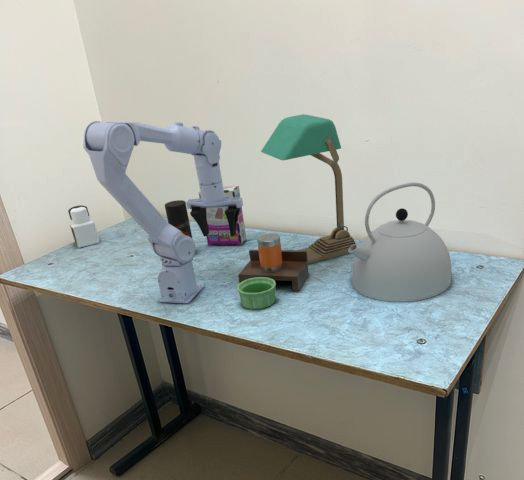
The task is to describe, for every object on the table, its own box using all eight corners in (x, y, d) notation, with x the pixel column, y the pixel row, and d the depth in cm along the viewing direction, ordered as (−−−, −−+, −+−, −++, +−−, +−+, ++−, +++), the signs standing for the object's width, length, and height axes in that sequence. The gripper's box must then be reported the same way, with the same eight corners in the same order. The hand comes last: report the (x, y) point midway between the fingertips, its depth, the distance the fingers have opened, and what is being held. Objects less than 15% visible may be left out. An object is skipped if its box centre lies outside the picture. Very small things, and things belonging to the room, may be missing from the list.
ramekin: (240, 313, 123) (237, 295, 121) (239, 296, 131) (236, 279, 129) (279, 307, 123) (277, 290, 121) (275, 291, 131) (273, 274, 129)
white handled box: (75, 242, 182) (64, 207, 176) (96, 237, 184) (86, 202, 178) (78, 248, 176) (67, 212, 170) (100, 243, 178) (89, 207, 172)
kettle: (376, 314, 116) (376, 210, 104) (326, 278, 134) (321, 186, 122) (472, 284, 122) (482, 183, 111) (412, 254, 141) (415, 165, 129)
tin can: (279, 273, 130) (275, 241, 126) (257, 272, 132) (253, 241, 128) (285, 264, 134) (282, 233, 130) (264, 263, 136) (261, 233, 132)
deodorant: (196, 249, 163) (187, 199, 155) (192, 256, 158) (182, 205, 150) (177, 250, 164) (167, 201, 156) (173, 258, 158) (162, 207, 151)
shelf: (298, 291, 129) (296, 266, 126) (240, 289, 134) (236, 265, 131) (308, 274, 137) (306, 250, 134) (253, 273, 142) (250, 249, 139)
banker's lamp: (365, 255, 144) (362, 113, 126) (293, 274, 138) (280, 129, 120) (336, 238, 157) (330, 108, 139) (270, 255, 151) (255, 121, 133)
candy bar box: (247, 239, 165) (239, 185, 156) (241, 245, 161) (234, 190, 152) (213, 239, 168) (204, 186, 160) (207, 245, 164) (197, 191, 156)
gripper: (243, 176, 133) (251, 229, 140) (190, 178, 138) (200, 229, 145) (233, 184, 127) (242, 239, 135) (178, 186, 132) (189, 239, 139)
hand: (219, 235), depth 139 cm, fingers open, 7 cm apart
